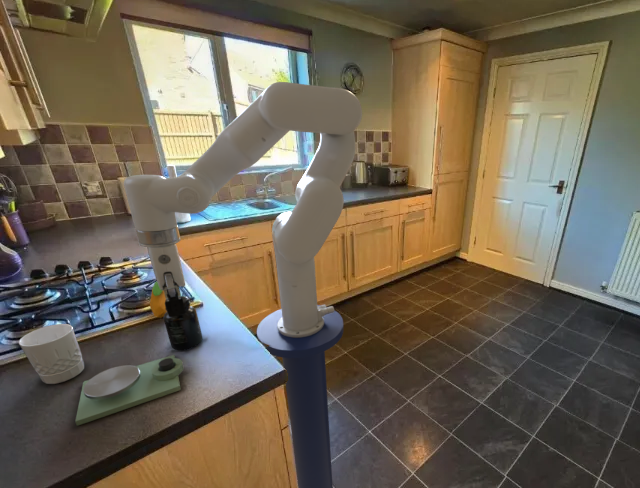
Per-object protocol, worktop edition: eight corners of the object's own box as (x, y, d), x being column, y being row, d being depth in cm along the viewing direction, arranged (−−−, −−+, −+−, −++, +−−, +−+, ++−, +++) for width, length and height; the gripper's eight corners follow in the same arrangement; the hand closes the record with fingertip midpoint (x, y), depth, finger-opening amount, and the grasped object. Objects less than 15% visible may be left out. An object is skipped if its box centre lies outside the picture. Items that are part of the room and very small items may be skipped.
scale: (181, 356, 76) (179, 347, 75) (187, 387, 67) (185, 378, 66) (85, 385, 67) (80, 376, 66) (77, 426, 58) (72, 415, 57)
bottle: (172, 220, 184) (159, 165, 172) (187, 218, 190) (175, 164, 178) (178, 223, 179) (165, 166, 168) (193, 220, 185) (182, 165, 173)
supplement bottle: (209, 339, 82) (199, 297, 78) (184, 355, 77) (172, 310, 72) (190, 332, 85) (180, 291, 80) (165, 347, 79) (152, 303, 75)
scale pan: (140, 362, 70) (139, 359, 70) (141, 387, 64) (139, 384, 63) (87, 378, 65) (85, 375, 65) (81, 407, 59) (80, 403, 59)
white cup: (40, 371, 71) (21, 332, 67) (88, 356, 75) (72, 319, 71) (37, 392, 65) (15, 351, 61) (88, 375, 70) (71, 336, 66)
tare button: (174, 362, 71) (172, 356, 70) (175, 369, 69) (173, 363, 68) (159, 366, 70) (158, 360, 69) (160, 373, 68) (158, 367, 67)
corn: (176, 271, 102) (172, 298, 86) (183, 292, 105) (181, 322, 89) (148, 276, 99) (139, 306, 83) (156, 298, 102) (149, 331, 86)
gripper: (183, 244, 65) (198, 318, 72) (175, 224, 78) (189, 288, 85) (137, 249, 61) (158, 327, 68) (137, 227, 74) (154, 294, 81)
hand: (175, 305), depth 76 cm, fingers open, 9 cm apart
